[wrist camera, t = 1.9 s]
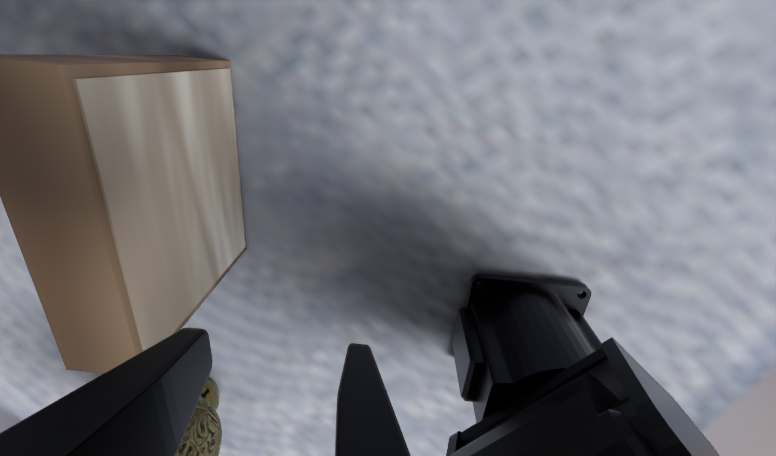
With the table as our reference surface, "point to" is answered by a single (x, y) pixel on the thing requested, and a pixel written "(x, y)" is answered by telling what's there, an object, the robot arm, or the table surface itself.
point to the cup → (203, 426)
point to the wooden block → (120, 193)
